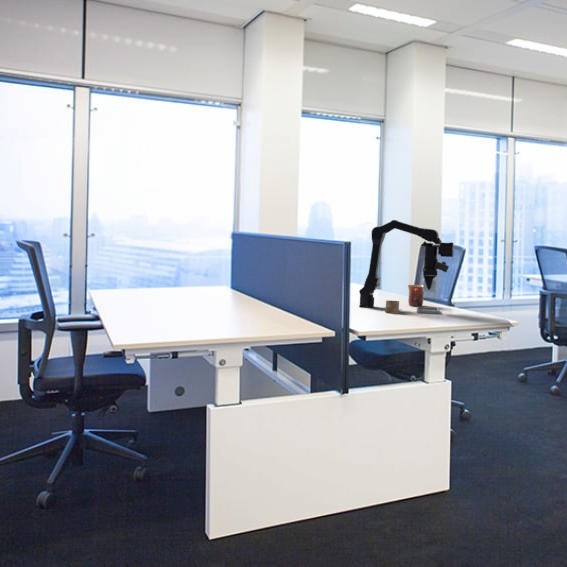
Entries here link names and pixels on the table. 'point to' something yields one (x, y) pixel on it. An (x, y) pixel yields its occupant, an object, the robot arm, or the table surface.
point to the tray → (427, 310)
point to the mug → (415, 295)
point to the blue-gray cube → (431, 286)
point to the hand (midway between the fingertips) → (428, 288)
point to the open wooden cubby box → (392, 306)
